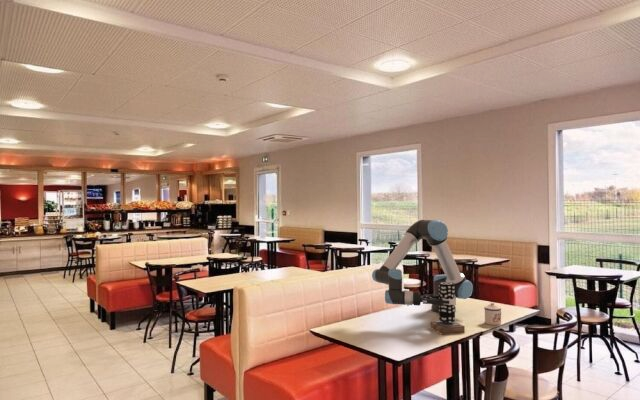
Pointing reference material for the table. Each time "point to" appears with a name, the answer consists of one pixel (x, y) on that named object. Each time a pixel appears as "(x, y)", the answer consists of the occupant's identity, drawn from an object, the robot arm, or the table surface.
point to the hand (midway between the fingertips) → (455, 300)
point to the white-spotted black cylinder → (446, 310)
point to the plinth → (447, 327)
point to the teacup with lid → (492, 314)
